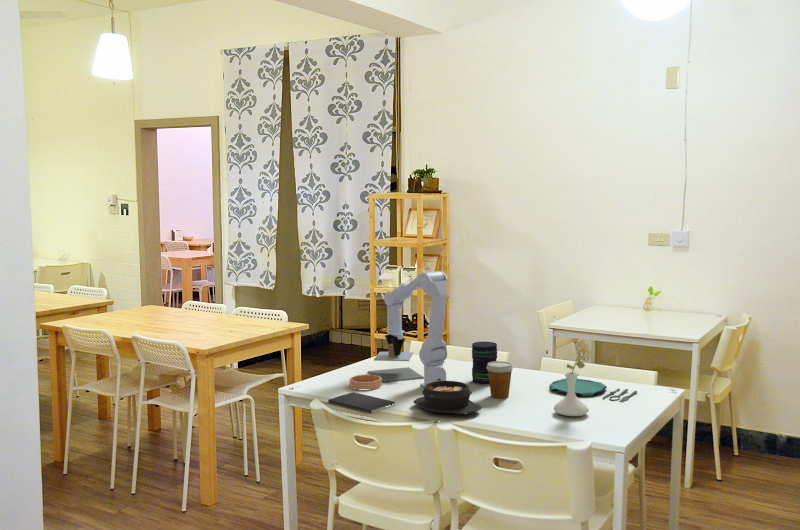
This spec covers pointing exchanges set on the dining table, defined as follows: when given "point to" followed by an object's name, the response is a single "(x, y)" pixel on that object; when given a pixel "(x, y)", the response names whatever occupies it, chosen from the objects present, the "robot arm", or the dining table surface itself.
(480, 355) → the storage jar
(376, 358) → the cover
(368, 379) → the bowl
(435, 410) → the casserole
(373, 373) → the mat
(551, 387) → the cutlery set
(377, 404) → the notebook
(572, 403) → the flower in vase
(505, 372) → the disposable coffee cup
